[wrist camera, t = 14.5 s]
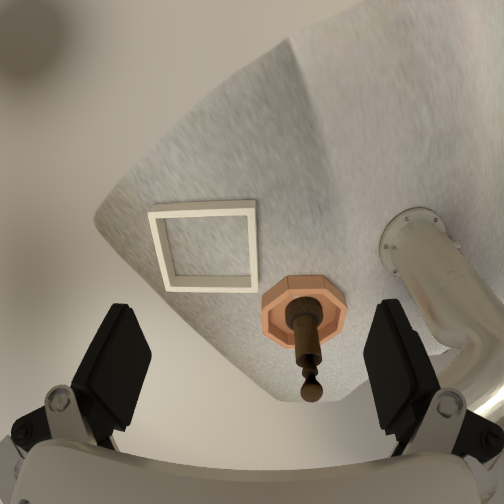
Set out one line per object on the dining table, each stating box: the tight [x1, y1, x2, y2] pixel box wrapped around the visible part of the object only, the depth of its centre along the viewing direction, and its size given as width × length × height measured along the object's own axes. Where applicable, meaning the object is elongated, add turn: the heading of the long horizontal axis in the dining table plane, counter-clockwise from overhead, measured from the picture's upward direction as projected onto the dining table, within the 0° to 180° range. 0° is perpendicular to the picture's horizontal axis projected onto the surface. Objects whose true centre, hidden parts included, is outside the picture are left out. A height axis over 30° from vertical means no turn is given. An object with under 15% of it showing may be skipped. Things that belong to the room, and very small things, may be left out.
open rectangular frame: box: [148, 200, 259, 293], centre depth 43 cm, size 15×14×3 cm
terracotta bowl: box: [262, 275, 347, 348], centre depth 48 cm, size 14×14×4 cm
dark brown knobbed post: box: [285, 297, 323, 402], centre depth 41 cm, size 7×6×18 cm
